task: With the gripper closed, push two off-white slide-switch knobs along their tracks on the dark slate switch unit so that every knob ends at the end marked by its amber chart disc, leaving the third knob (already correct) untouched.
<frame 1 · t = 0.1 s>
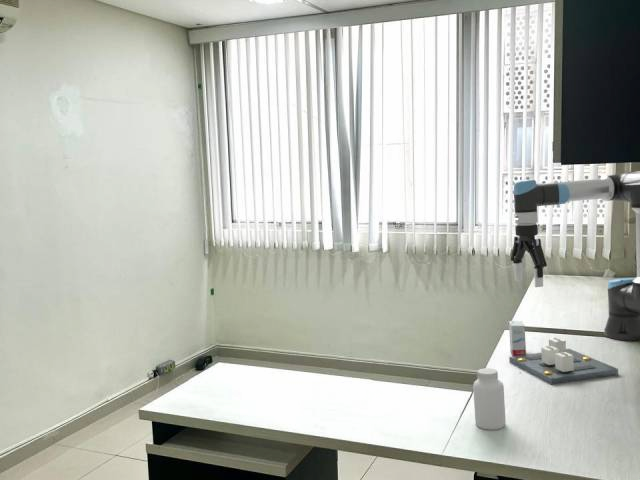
hand: (528, 283, 213), 28 cm above the table, fingers open, 13 cm apart
slider b: (550, 354, 204), point 5 cm above the table, slide at 8.0 cm
slider a: (557, 346, 213), point 5 cm above the table, slide at 0.0 cm
slider c: (564, 361, 196), point 5 cm above the table, slide at 8.0 cm
switch unit: (561, 368, 205), on the table
ink box: (518, 354, 225), on the table
pill bottle: (490, 425, 163), on the table
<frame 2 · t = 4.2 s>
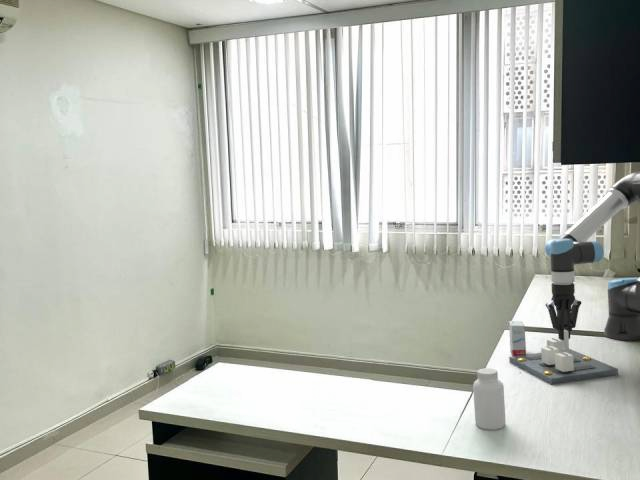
hand: (564, 348, 214), 4 cm above the table, fingers closed
slider a: (555, 346, 213), point 5 cm above the table, slide at 0.8 cm, touching gripper
everything else where it was.
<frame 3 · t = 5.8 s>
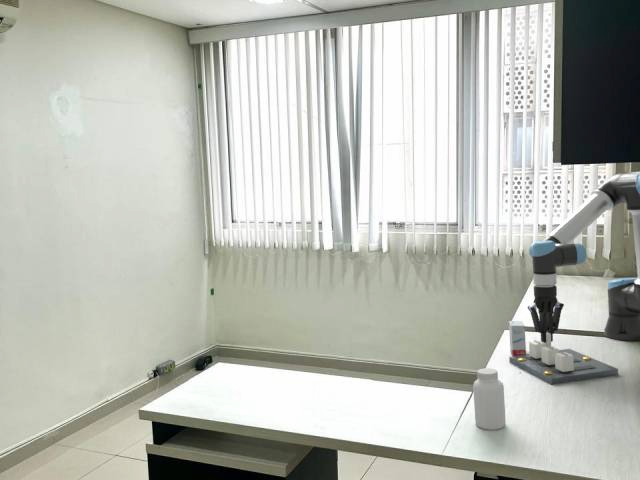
hand: (547, 351, 213), 4 cm above the table, fingers closed
slider a: (537, 348, 212), point 5 cm above the table, slide at 7.8 cm, touching gripper
everything else where it was.
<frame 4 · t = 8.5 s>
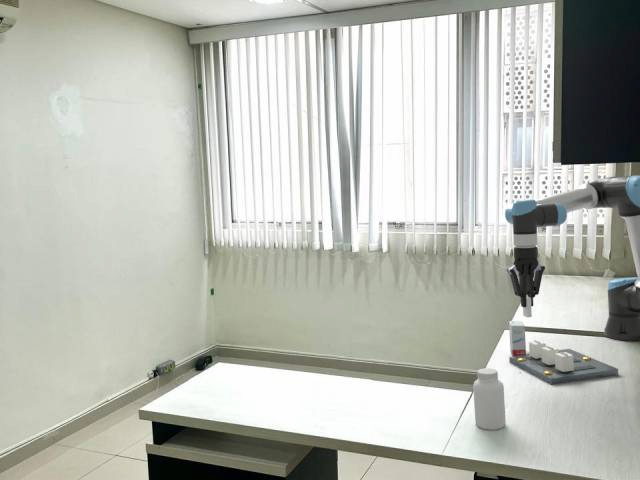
hand: (527, 316, 202), 19 cm above the table, fingers closed
slider a: (537, 348, 212), point 5 cm above the table, slide at 7.8 cm
everything else where it was.
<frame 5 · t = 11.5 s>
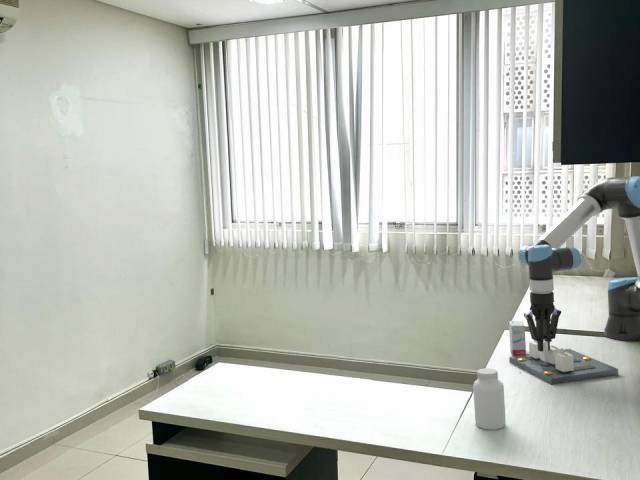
hand: (544, 360, 204), 4 cm above the table, fingers closed
slider b: (554, 354, 204), point 5 cm above the table, slide at 6.3 cm, touching gripper
everything else where it was.
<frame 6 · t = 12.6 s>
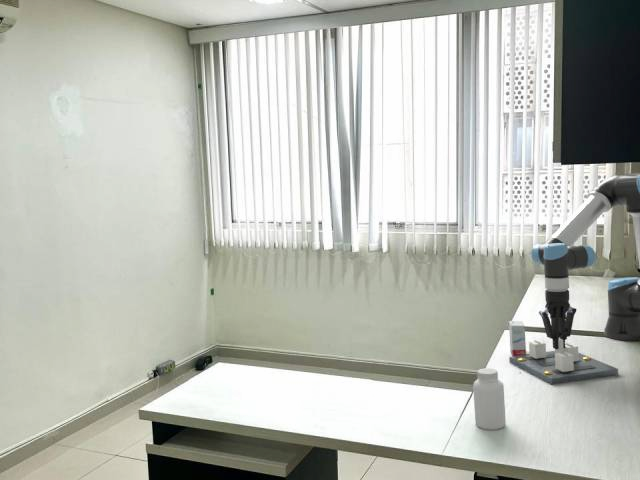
hand: (559, 357, 205), 4 cm above the table, fingers closed
slider b: (569, 352, 205), point 5 cm above the table, slide at 0.6 cm, touching gripper
everything else where it was.
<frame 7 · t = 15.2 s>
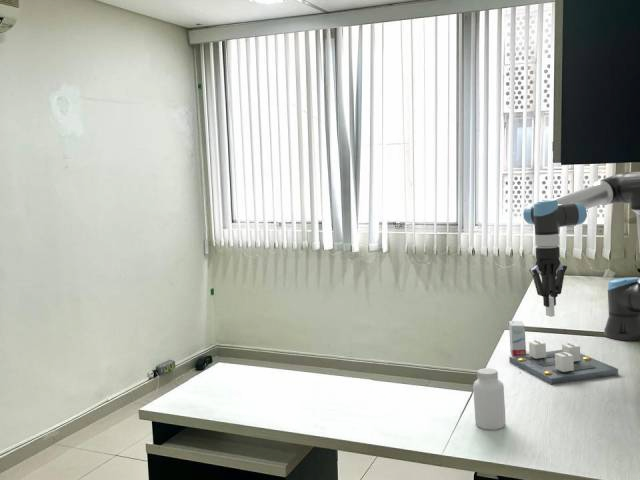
hand: (550, 315, 204), 19 cm above the table, fingers closed
slider b: (571, 352, 206), point 5 cm above the table, slide at 0.0 cm
everything else where it was.
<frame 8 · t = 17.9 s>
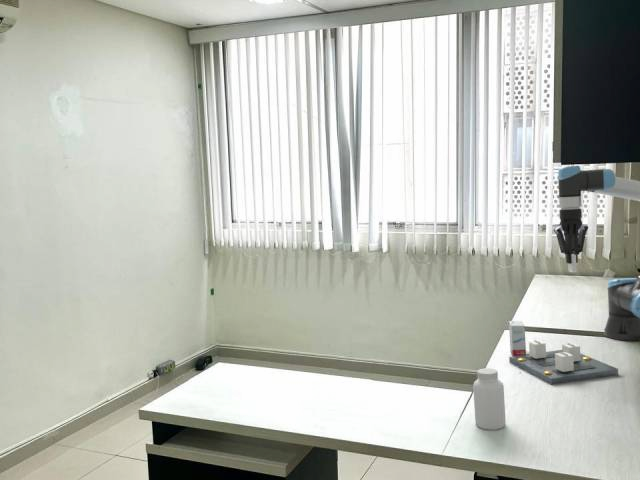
hand: (572, 271, 223), 29 cm above the table, fingers closed
nothing on the table moved.
at the end: slider a slide at 7.8 cm; slider b slide at 0.0 cm; slider c slide at 8.0 cm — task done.
